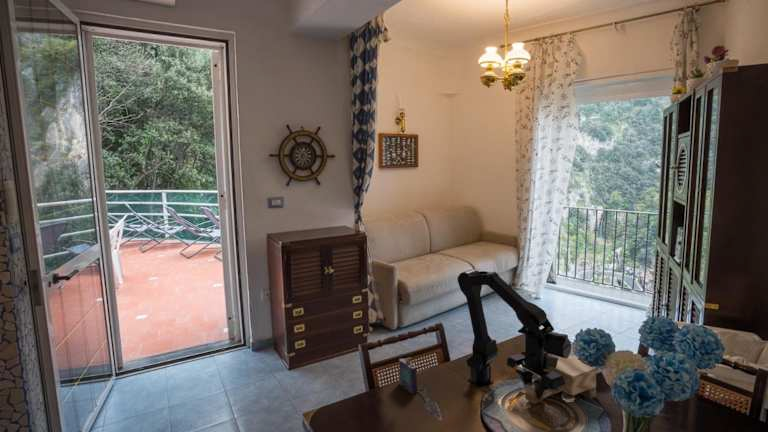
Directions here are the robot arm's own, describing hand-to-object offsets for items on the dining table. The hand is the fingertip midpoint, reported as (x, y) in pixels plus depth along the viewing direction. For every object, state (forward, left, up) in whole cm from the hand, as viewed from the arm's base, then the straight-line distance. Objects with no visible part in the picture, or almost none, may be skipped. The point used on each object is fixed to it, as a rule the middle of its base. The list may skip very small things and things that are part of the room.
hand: (534, 396), depth 128 cm
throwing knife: (-29, +16, -2) cm, 33 cm away
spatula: (+6, 0, -1) cm, 6 cm away
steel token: (+10, -4, -2) cm, 11 cm away
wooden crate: (+14, -1, -2) cm, 14 cm away
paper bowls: (+29, +6, -2) cm, 30 cm away
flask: (-30, +28, -2) cm, 41 cm away
